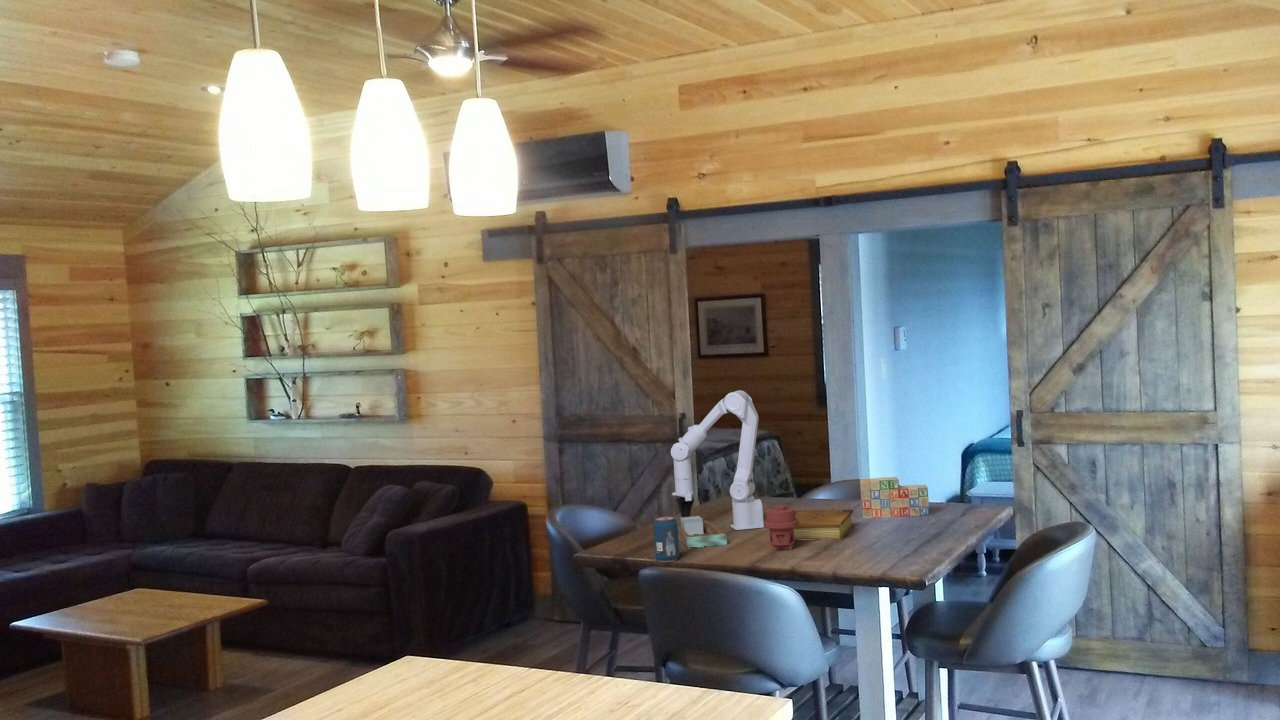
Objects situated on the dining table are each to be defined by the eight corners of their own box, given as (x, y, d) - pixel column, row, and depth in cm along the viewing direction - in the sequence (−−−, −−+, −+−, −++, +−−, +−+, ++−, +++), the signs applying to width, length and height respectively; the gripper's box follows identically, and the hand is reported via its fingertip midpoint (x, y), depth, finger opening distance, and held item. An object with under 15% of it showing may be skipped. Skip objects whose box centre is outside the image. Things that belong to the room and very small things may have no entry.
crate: (700, 531, 365) (699, 515, 365) (703, 534, 359) (702, 518, 359) (681, 532, 364) (680, 517, 364) (684, 536, 358) (683, 520, 358)
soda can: (665, 556, 327) (662, 515, 327) (684, 558, 323) (681, 516, 323) (650, 561, 322) (647, 519, 322) (669, 563, 318) (666, 521, 317)
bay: (707, 528, 367) (707, 519, 367) (727, 544, 339) (726, 534, 339) (671, 532, 365) (670, 523, 365) (687, 548, 337) (687, 538, 337)
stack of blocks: (928, 512, 370) (925, 475, 370) (929, 516, 364) (927, 478, 364) (861, 515, 374) (859, 478, 373) (862, 518, 368) (859, 480, 367)
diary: (795, 528, 362) (794, 510, 362) (853, 527, 355) (852, 509, 355) (779, 541, 340) (778, 522, 340) (841, 541, 334) (840, 522, 334)
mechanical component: (805, 549, 324) (773, 553, 321) (792, 543, 334) (760, 547, 331) (803, 506, 324) (770, 510, 321) (789, 502, 333) (757, 505, 331)
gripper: (667, 477, 377) (670, 517, 378) (675, 482, 363) (678, 524, 363) (688, 475, 378) (690, 515, 379) (696, 480, 364) (699, 522, 364)
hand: (686, 519), depth 371 cm, fingers closed
